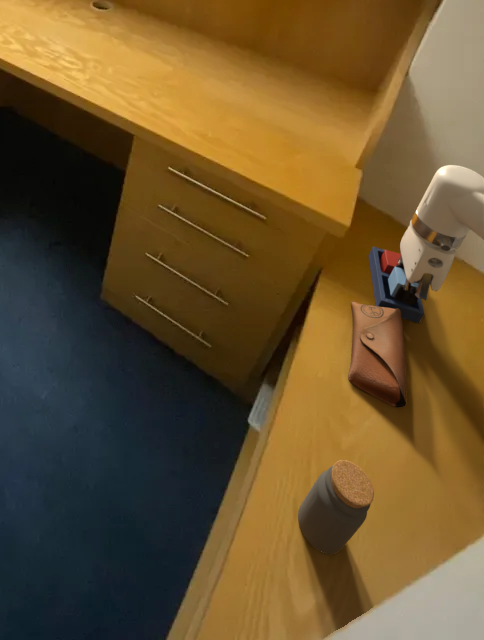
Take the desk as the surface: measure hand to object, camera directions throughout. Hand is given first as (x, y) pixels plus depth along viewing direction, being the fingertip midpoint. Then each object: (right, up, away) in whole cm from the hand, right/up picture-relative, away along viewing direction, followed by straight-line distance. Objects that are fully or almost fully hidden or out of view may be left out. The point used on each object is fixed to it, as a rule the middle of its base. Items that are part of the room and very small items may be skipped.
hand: (402, 290), depth 99 cm
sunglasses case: (-10, -8, -6) cm, 14 cm away
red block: (+2, 0, +7) cm, 7 cm away
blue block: (0, 0, 0) cm, 0 cm away
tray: (+1, -2, +4) cm, 5 cm away
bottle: (-32, -20, -27) cm, 46 cm away
